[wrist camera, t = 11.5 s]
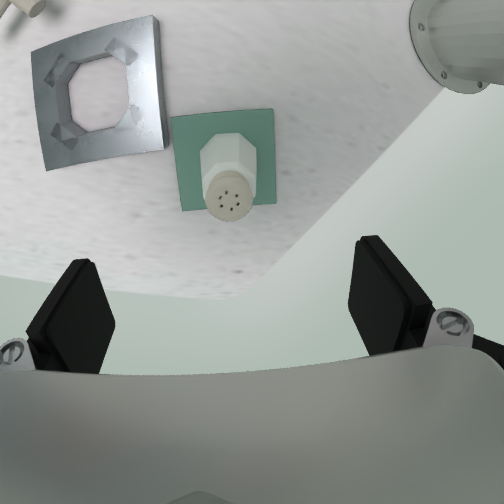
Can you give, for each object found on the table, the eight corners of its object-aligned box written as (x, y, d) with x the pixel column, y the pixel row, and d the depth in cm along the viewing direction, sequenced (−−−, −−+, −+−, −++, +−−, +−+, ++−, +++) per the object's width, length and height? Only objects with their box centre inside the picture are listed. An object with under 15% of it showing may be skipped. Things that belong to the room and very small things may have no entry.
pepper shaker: (190, 177, 28) (171, 227, 19) (210, 122, 26) (199, 142, 17) (245, 196, 30) (255, 253, 20) (267, 142, 27) (290, 174, 18)
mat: (272, 108, 26) (273, 109, 26) (275, 201, 31) (276, 203, 30) (171, 117, 26) (170, 117, 26) (182, 209, 30) (182, 211, 30)
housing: (158, 20, 22) (152, 15, 19) (169, 144, 27) (163, 149, 25) (44, 53, 21) (30, 52, 19) (58, 164, 27) (46, 171, 25)
